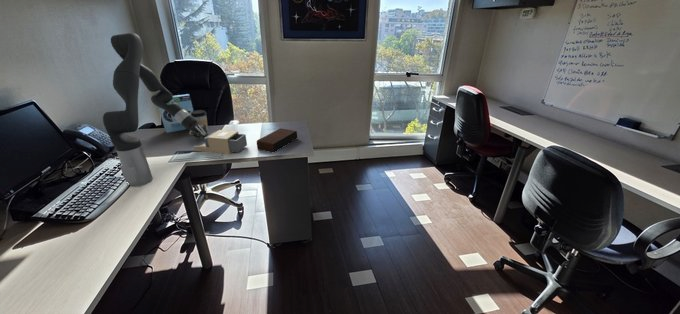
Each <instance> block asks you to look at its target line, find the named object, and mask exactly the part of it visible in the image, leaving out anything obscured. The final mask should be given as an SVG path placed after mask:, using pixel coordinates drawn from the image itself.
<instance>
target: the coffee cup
mask: <svg viewBox="0 0 680 314" xmlns="http://www.w3.org/2000/svg"><path fill="white" fill-rule="evenodd" d="M191 115H192V116H193V117H194V118H195V119H196V120H197V123H199V124H200V125H206V129H207V135H209V129H208V125H209V124H208V118H207V115H208V113H207V112H206V111H205V110H203V109H197V110H193V112H191Z"/></svg>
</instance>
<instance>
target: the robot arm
mask: <svg viewBox="0 0 680 314" xmlns="http://www.w3.org/2000/svg"><path fill="white" fill-rule="evenodd" d="M110 44H111V47H112V48H113V49H114V51H115V52H116V54H117V55H118V56H119V57H120V58H121V59H122V60H121V62H120V63H119V64H118V65H117V66H116V67H115V70H114V72H113V76H112V77H113V78H112V87H113V89H114V90H115V91H116V93H117V94H118V95H119V97H120V98H121V99H122V100H123V102H124V104H125V109H123V110H115V111H114V110H113V111H105V112H104V114H103V115H102V122H103V126H104V129H105V131H106V132H107V133H106V134H107V135H108V137H109V139H110V142H111V143H112V145H113V147H114V148H115V151H116V154H117V156H118V159H119V162H120V163H121V166H119V167H120V170H121V173H122V175H123V179H124V181H125V183H126V182H128V183H129V185H130V186H131V187H138V188H139V187H141V186H143V185H146V184H149V183H150V182H152V181H153V179H154V177H153V175H152V174H153V173H152V172H151V168H150V166H149V162H148V160H147V156H146V153H145V151H144V147H143V145H142V142H141V139H140V138H138V137H135V136H131V135H128V133H134V132H136V131H137V130H138V129H139V105H138V104H139V103H138V102H139V88H140V80H141V82H142V83H143V85H144V86H145V87H146V89H147V90H148V91H149V92H151V93H154V94H153V95H151V97H150V99H151V102H152V104H153V105H154V106H156V107H160V108H162V109H164V110H165V111H167V112H169V113H170V114H171V115H172V116H173V117H174V118H175V119H176V120H177V121H178V122H179V123H180V124H181V125H182V126H184V127H185V128H186V129H185V130H188V131H189V134H188V135H189V136H190V137H194V138H196V139H203V140H204V138H205V137H207V136H208V135H209V134H207V129H206V125H200V124H199V123H197V120H196V119H195V118H194V117H193V116H192V115H191V114H190V113H188V112H187V111H186V110H184V109H183V108H182V107H181V106H180V105H179V104H178V103H172V104H167V103H168V102H170V101H171V100H172V99H173V96H174V95H173V93H172V92H170V90H168V89H167V88H166V87H165V86H164V85H163V84H162V83H161V81H160V80H159V78H158V77H157V75H156V74H155V72H154V71H152V70H151V69H150V68H149V67H147V66H146V65H144V64H142V63H141V62H142V58H143V53H144V44H143V41H142V39H141V37H140V36H139V35H138V34H137V33H134V32H133V33H132V32H128V33H121V34H115V35H112V36H111V37H110ZM155 92H156V93H155ZM126 133H127V134H126ZM130 186H129V187H130Z"/></svg>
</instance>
